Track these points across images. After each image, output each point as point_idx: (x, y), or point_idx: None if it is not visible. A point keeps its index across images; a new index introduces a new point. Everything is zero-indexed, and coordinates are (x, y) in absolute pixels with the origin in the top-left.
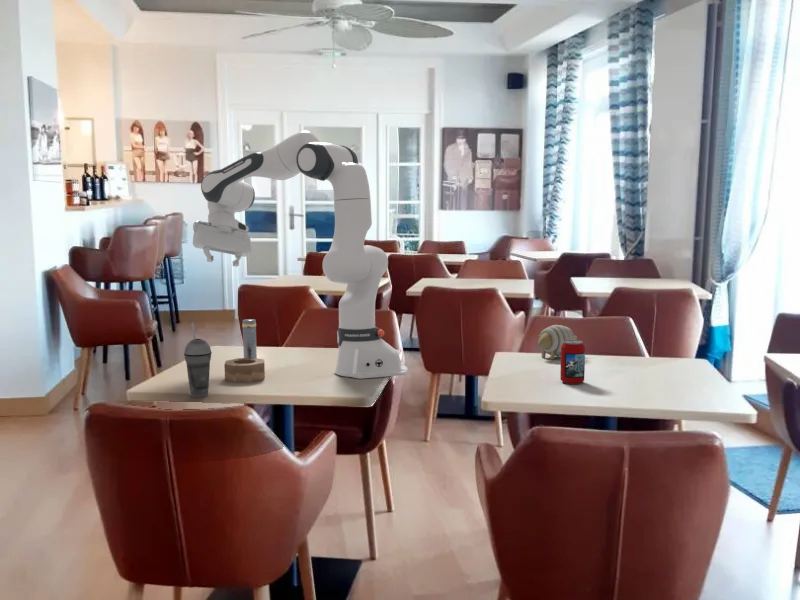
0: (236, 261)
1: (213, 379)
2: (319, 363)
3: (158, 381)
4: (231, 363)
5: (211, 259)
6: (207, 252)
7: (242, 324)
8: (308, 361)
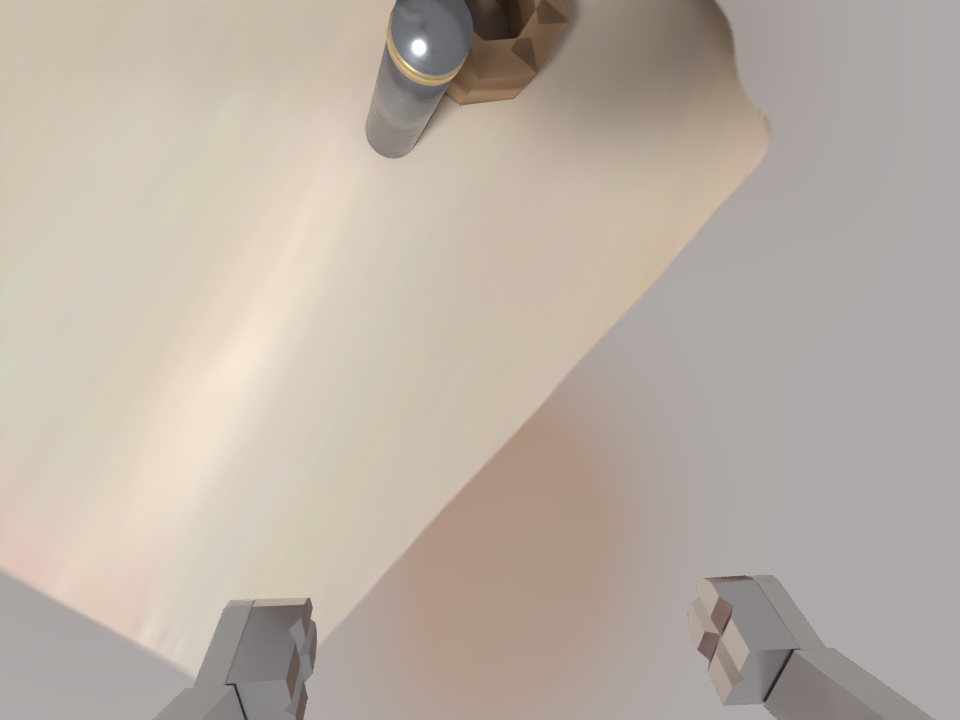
0: (265, 650)
1: (559, 102)
2: (41, 12)
3: (684, 211)
4: (546, 6)
5: (746, 578)
6: (890, 697)
7: (467, 54)
8: (63, 98)
